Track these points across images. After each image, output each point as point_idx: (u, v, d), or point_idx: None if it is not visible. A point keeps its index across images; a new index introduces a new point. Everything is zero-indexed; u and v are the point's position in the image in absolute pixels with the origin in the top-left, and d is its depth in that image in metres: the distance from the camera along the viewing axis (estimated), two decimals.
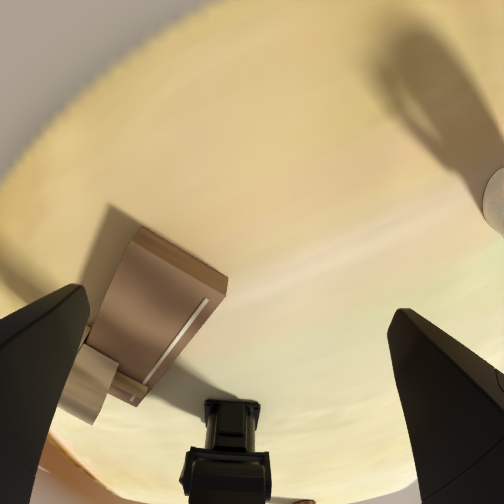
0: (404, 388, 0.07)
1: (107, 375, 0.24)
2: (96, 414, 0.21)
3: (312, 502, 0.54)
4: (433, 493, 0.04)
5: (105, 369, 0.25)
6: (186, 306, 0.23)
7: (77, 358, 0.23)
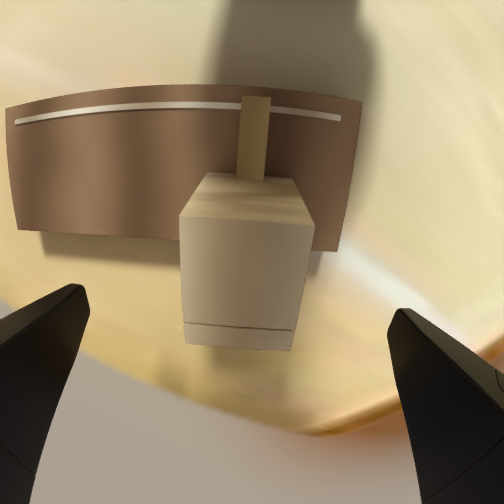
0: (404, 388, 0.07)
1: None
2: (212, 222, 0.09)
3: None
4: (433, 493, 0.04)
5: None
6: (34, 134, 0.13)
7: None
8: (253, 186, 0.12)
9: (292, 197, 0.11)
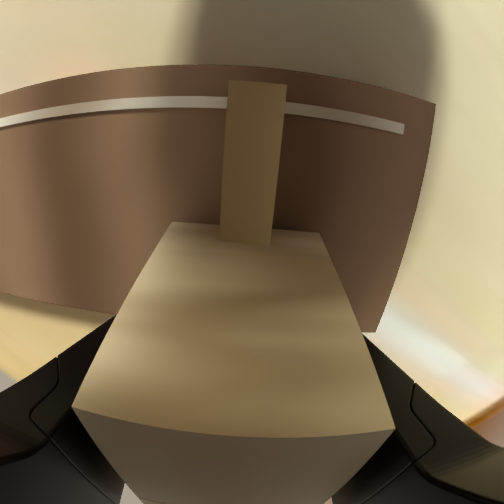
0: None
1: None
2: (148, 430, 0.03)
3: None
4: None
5: None
6: None
7: None
8: (251, 266, 0.06)
9: (331, 304, 0.05)
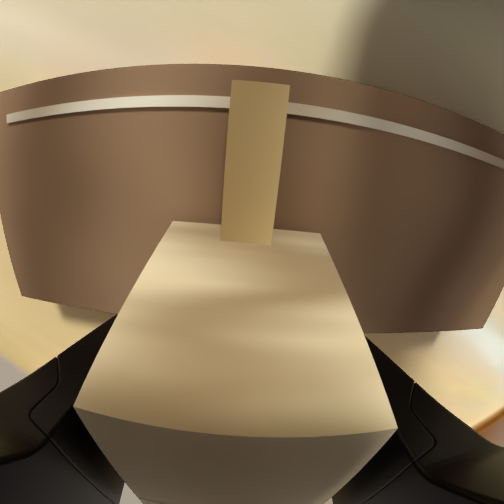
0: None
1: None
2: (151, 430, 0.03)
3: None
4: None
5: None
6: (43, 142, 0.07)
7: None
8: (252, 266, 0.06)
9: (332, 304, 0.05)
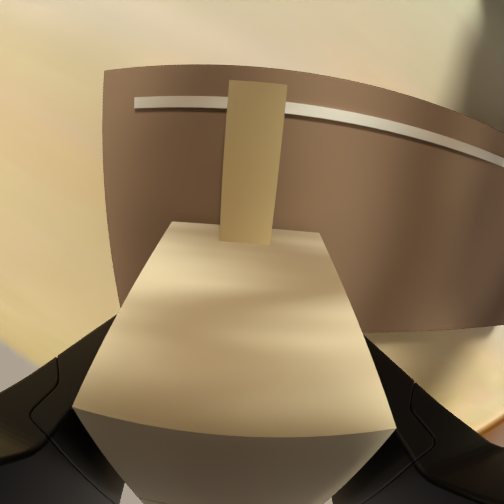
0: None
1: None
2: (149, 430, 0.03)
3: None
4: None
5: None
6: (193, 138, 0.07)
7: None
8: (251, 266, 0.06)
9: (332, 303, 0.05)
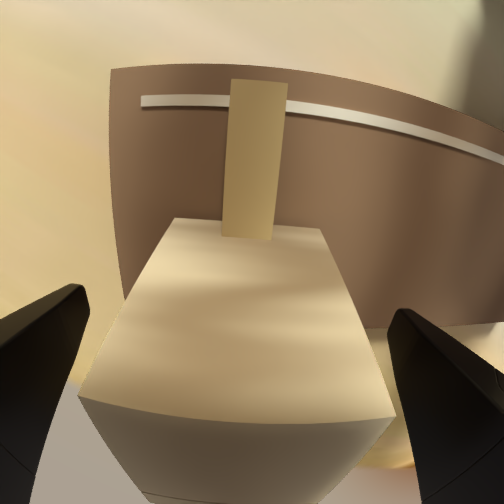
0: (404, 388, 0.07)
1: None
2: (153, 418, 0.03)
3: None
4: (433, 493, 0.04)
5: None
6: (200, 135, 0.08)
7: None
8: (253, 260, 0.06)
9: (332, 296, 0.06)
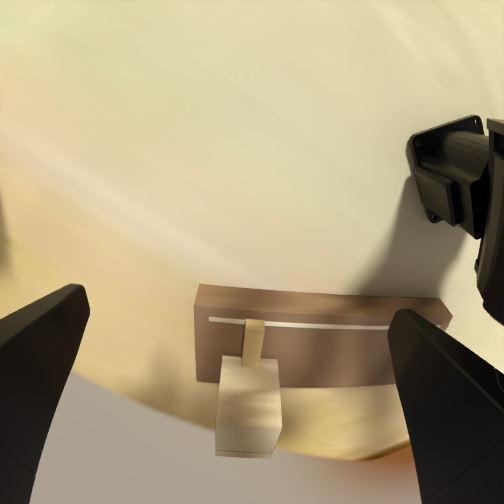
0: (404, 388, 0.07)
1: None
2: (232, 426, 0.16)
3: None
4: (433, 493, 0.04)
5: None
6: (232, 331, 0.21)
7: None
8: (252, 379, 0.20)
9: (274, 393, 0.19)
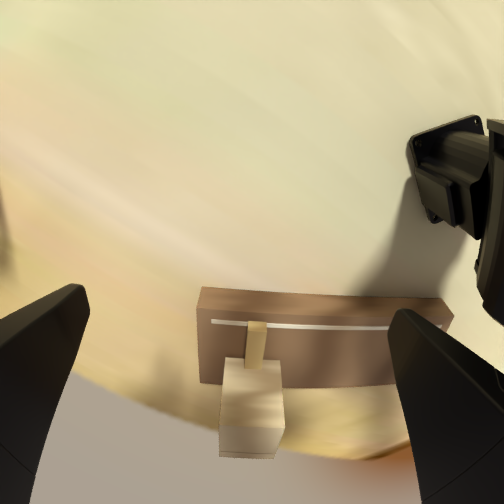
0: (404, 388, 0.07)
1: None
2: (235, 427, 0.16)
3: None
4: (433, 493, 0.04)
5: None
6: (235, 333, 0.21)
7: None
8: (255, 380, 0.20)
9: (277, 394, 0.19)
